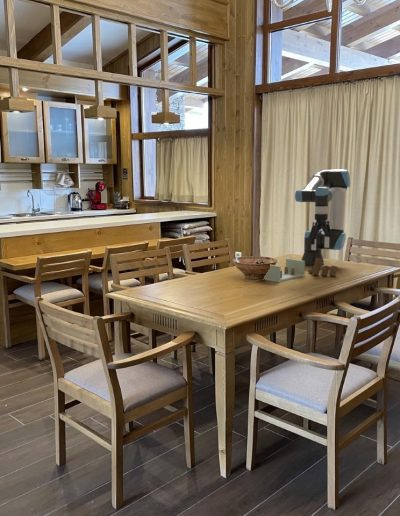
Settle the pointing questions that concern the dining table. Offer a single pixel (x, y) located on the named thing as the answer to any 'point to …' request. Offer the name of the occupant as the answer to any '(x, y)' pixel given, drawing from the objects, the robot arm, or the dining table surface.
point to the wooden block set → (323, 269)
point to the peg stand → (286, 271)
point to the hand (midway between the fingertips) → (320, 248)
